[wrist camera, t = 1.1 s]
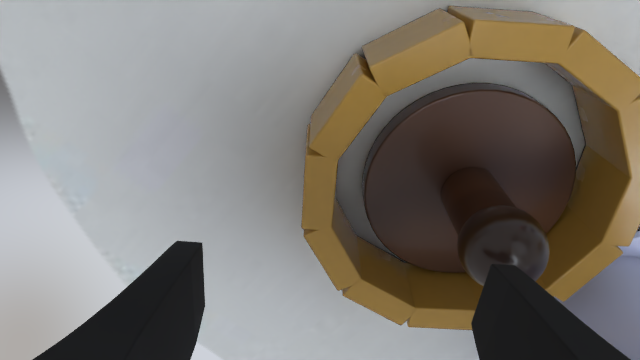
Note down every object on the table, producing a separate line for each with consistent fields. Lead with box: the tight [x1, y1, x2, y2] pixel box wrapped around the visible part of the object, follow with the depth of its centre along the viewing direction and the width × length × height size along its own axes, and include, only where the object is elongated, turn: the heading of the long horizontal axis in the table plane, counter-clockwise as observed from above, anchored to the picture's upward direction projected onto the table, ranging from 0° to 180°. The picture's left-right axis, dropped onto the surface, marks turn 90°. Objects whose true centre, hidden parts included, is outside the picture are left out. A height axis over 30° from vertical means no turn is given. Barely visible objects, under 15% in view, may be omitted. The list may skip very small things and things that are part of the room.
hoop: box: [301, 6, 640, 330], centre depth 18 cm, size 13×13×3 cm
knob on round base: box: [362, 83, 576, 286], centre depth 17 cm, size 9×9×6 cm
